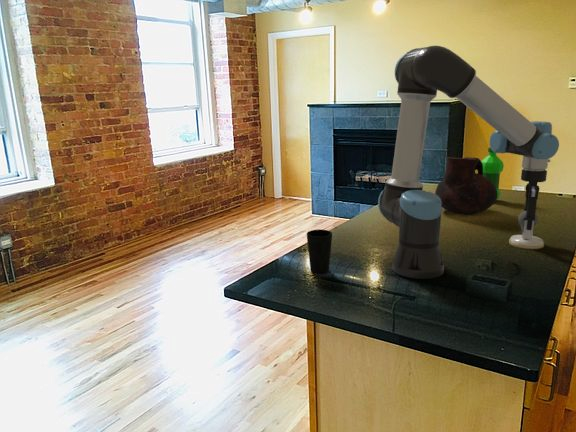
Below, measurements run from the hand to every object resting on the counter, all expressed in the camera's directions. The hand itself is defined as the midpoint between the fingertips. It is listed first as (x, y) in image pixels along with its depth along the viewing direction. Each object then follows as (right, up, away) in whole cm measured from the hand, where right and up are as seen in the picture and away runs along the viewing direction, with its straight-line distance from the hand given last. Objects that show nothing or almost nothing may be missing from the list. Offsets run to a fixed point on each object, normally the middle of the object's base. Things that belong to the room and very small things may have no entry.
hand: (527, 235), depth 163 cm
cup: (-73, -10, -18) cm, 76 cm away
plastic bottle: (+13, +14, +63) cm, 66 cm away
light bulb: (0, -1, 0) cm, 2 cm away
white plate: (0, -3, +1) cm, 3 cm away
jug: (-6, +8, +43) cm, 45 cm away
